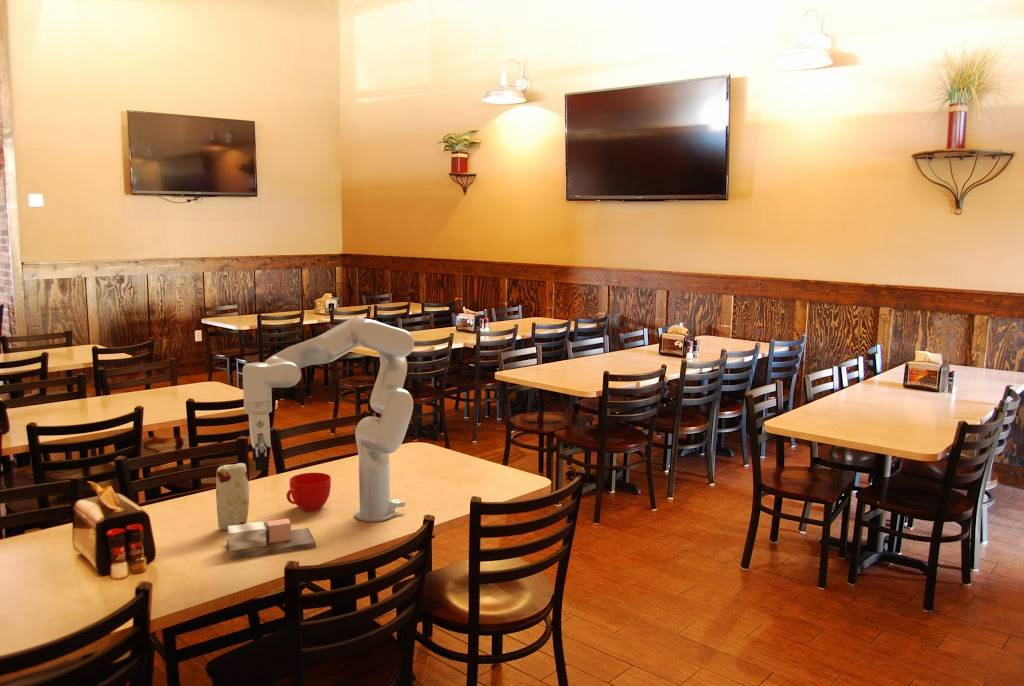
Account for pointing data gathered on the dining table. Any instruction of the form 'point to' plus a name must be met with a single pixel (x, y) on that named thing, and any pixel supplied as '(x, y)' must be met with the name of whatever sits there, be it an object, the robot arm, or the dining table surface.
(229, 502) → the food model
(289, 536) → the stub
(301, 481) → the ceramic cup
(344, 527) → the dining table surface
